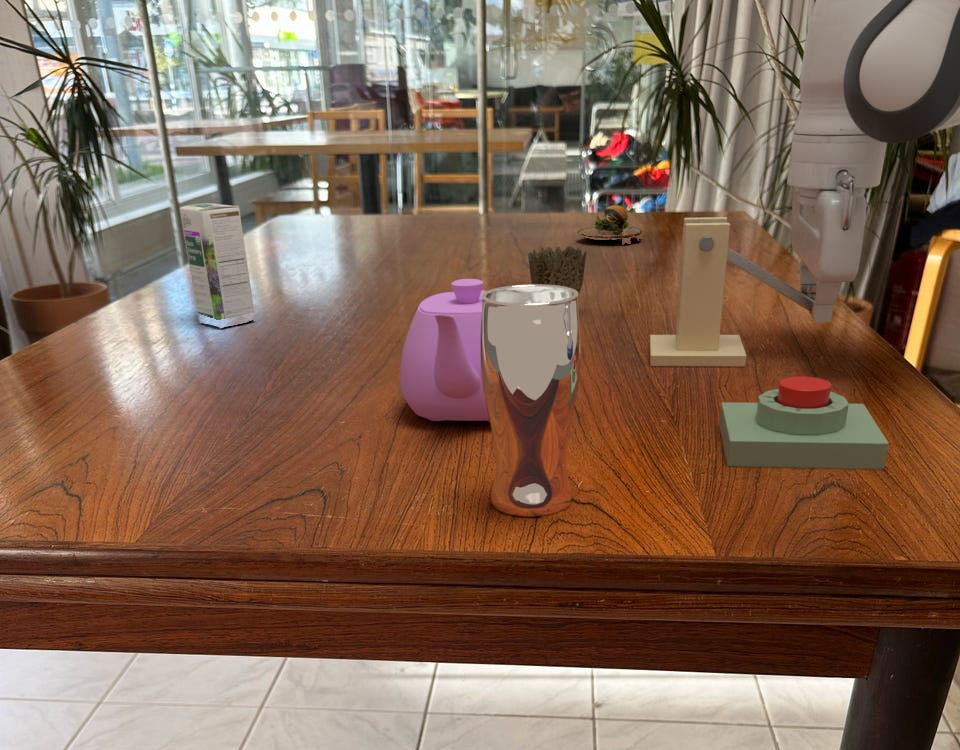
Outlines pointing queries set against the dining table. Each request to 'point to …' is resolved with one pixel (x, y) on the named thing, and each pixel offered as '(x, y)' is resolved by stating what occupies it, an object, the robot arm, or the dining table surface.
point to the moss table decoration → (613, 223)
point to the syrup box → (217, 260)
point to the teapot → (446, 356)
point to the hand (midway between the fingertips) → (813, 311)
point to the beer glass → (530, 393)
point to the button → (804, 392)
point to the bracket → (700, 302)
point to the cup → (558, 267)
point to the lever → (770, 279)
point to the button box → (801, 435)
